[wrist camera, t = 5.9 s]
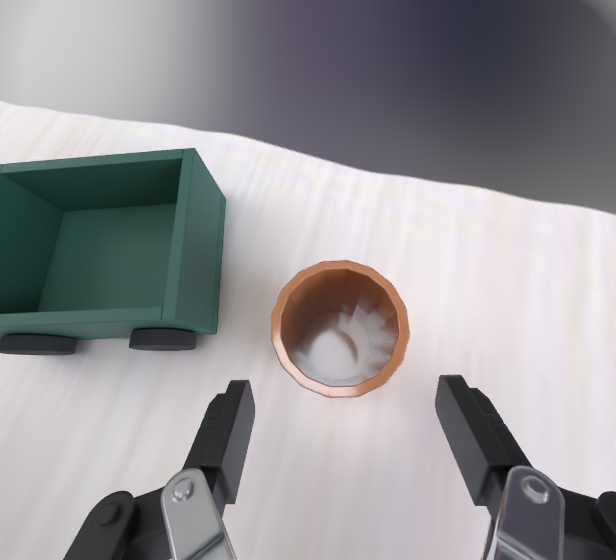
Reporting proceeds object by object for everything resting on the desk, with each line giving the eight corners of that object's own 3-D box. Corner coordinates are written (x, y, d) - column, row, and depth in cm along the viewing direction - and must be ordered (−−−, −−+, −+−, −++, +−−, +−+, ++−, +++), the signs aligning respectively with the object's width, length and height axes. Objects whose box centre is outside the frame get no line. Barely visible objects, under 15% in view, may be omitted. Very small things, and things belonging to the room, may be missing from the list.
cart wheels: (-18, 358, 22) (-98, 354, 18) (31, 202, 26) (-25, 171, 22) (205, 349, 21) (173, 343, 17) (218, 188, 25) (195, 152, 21)
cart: (32, 341, 22) (-70, 330, 17) (67, 210, 26) (-7, 164, 20) (216, 334, 21) (175, 319, 16) (226, 198, 25) (194, 147, 19)
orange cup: (298, 387, 20) (270, 399, 11) (297, 310, 21) (271, 263, 12) (378, 385, 19) (418, 395, 10) (370, 306, 21) (399, 256, 12)
